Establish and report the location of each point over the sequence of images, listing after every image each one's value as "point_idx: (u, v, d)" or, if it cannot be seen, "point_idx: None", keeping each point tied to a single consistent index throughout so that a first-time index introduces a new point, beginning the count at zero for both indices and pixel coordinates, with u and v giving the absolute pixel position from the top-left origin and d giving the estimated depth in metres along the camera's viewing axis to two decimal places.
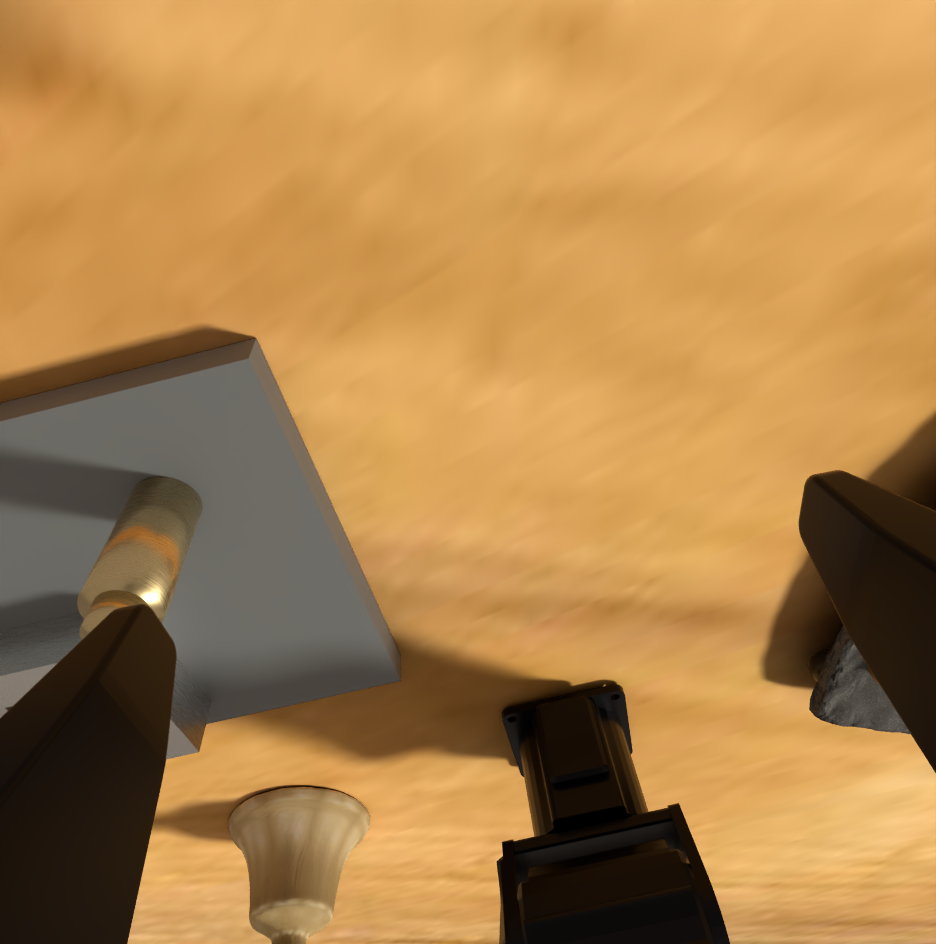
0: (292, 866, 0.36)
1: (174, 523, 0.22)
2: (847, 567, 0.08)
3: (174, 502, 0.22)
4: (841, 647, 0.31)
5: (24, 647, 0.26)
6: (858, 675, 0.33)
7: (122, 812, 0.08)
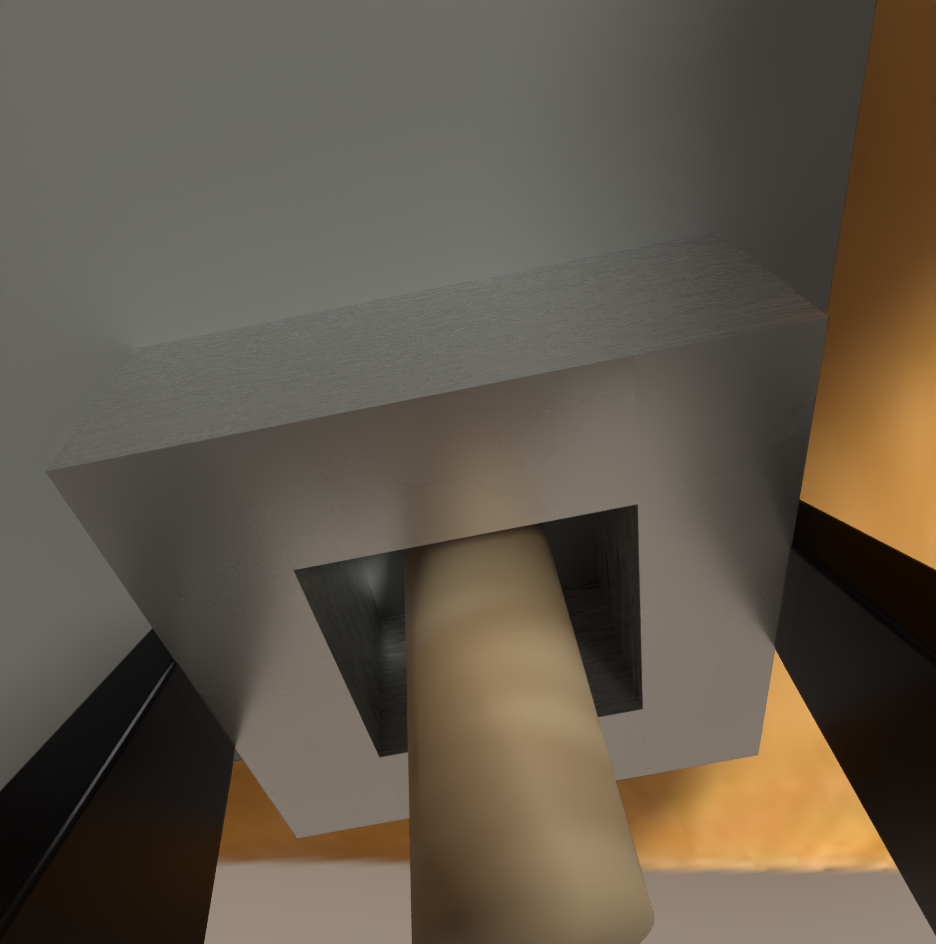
0: None
1: None
2: None
3: None
4: None
5: None
6: None
7: (199, 798, 0.08)
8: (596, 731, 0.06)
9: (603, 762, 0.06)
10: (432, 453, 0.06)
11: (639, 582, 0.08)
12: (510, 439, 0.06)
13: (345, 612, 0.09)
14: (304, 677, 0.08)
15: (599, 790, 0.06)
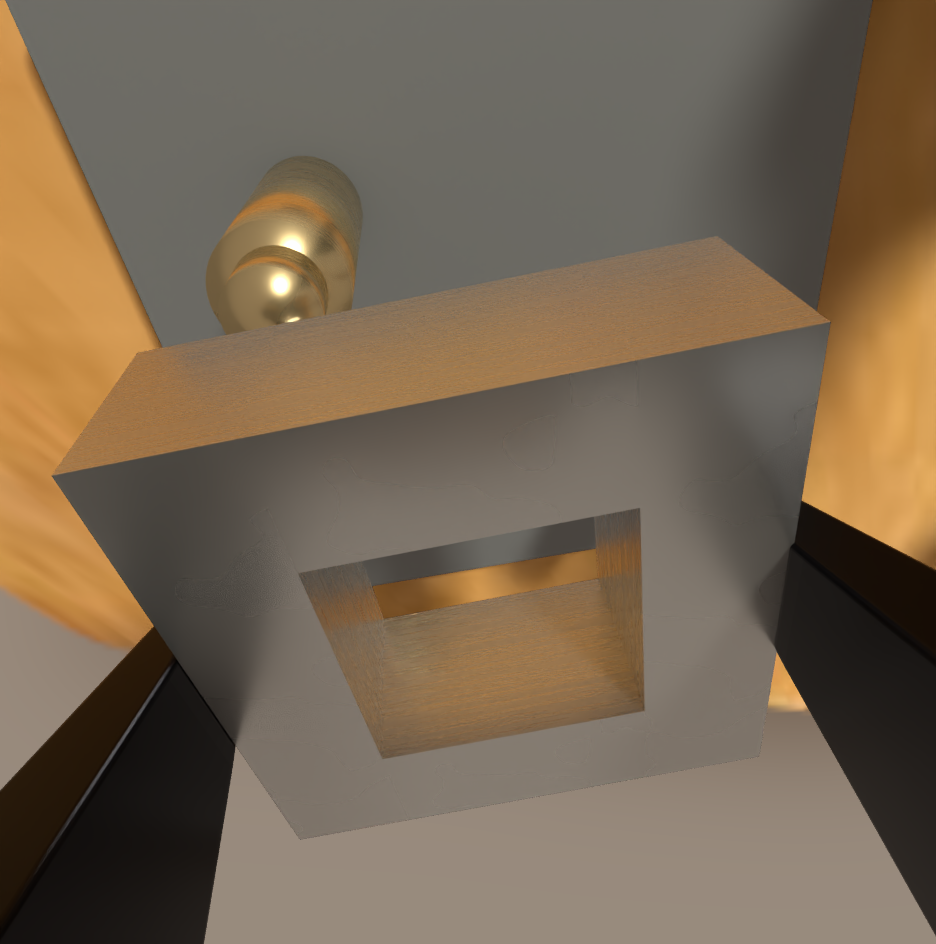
0: None
1: (258, 188, 0.13)
2: None
3: (258, 186, 0.14)
4: None
5: None
6: None
7: (200, 798, 0.08)
8: None
9: None
10: (436, 457, 0.06)
11: (641, 585, 0.08)
12: (514, 443, 0.06)
13: (348, 614, 0.09)
14: (308, 679, 0.08)
15: None
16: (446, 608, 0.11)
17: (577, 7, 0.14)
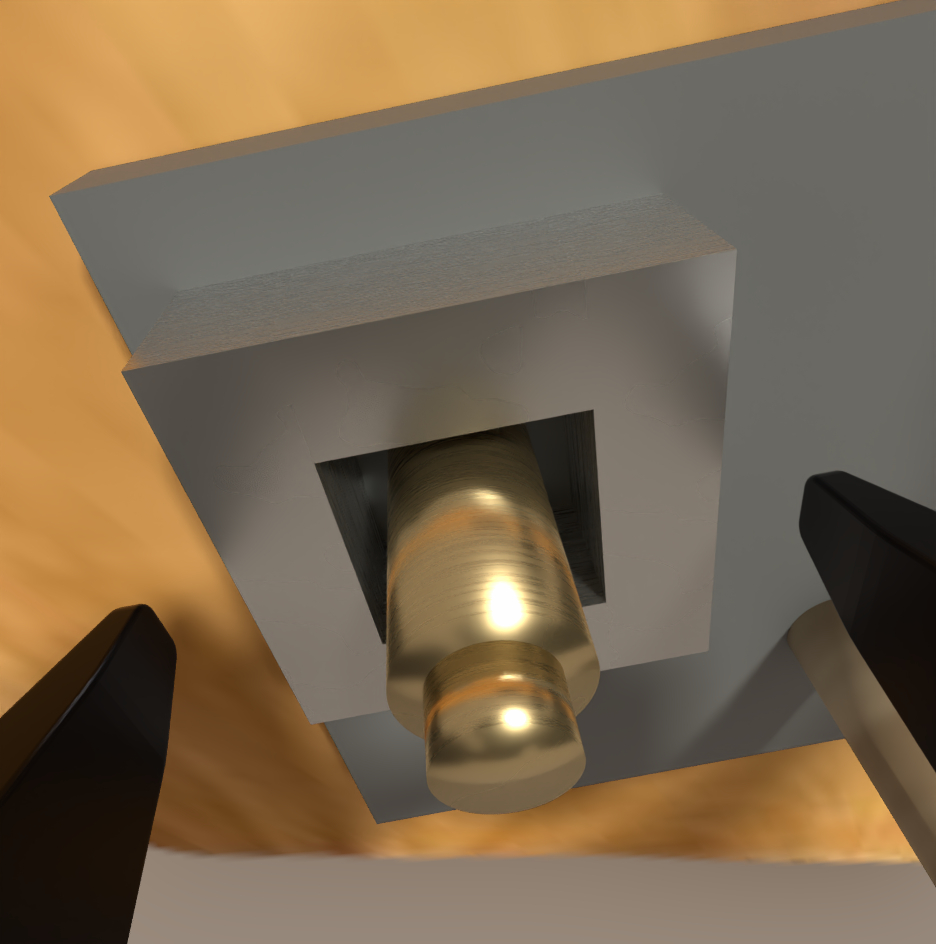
0: None
1: (420, 466, 0.09)
2: (847, 567, 0.08)
3: None
4: None
5: None
6: None
7: (122, 812, 0.08)
8: None
9: None
10: (426, 361, 0.08)
11: (598, 481, 0.09)
12: (488, 350, 0.08)
13: (354, 518, 0.10)
14: (320, 564, 0.09)
15: None
16: None
17: (852, 187, 0.10)
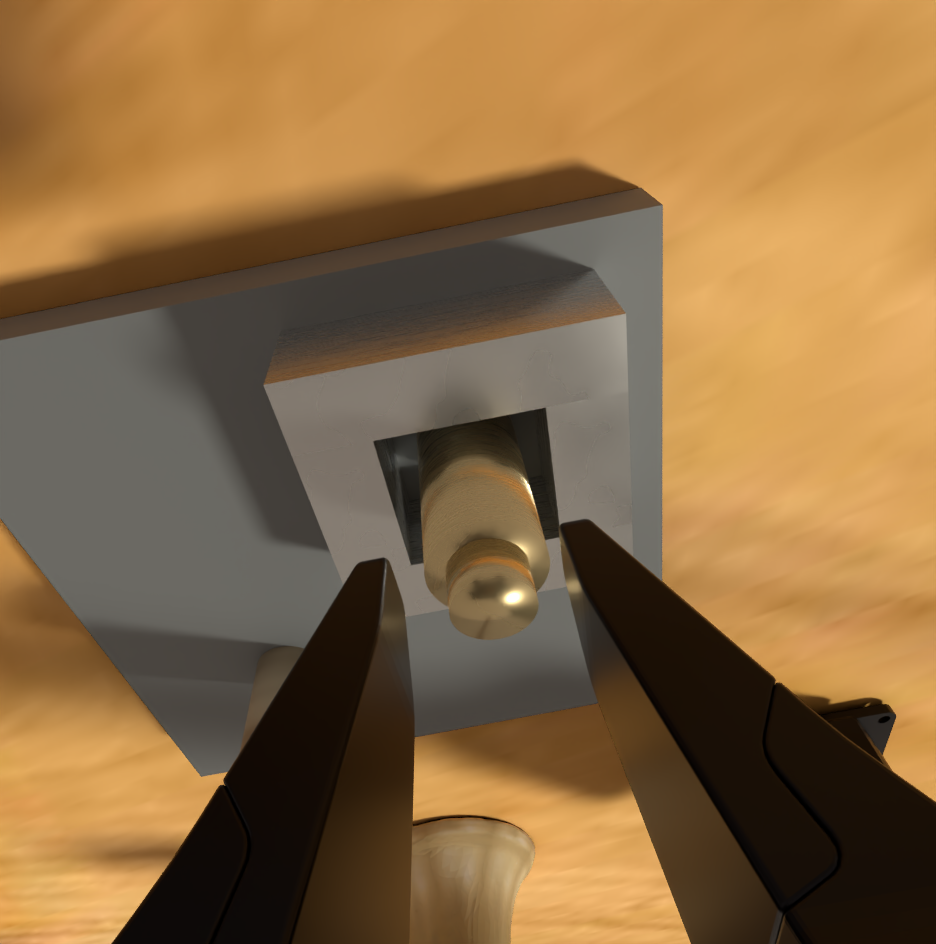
0: (466, 919, 0.29)
1: (516, 451, 0.15)
2: (580, 617, 0.08)
3: (503, 423, 0.15)
4: None
5: (418, 327, 0.14)
6: None
7: (400, 761, 0.08)
8: None
9: None
10: (602, 463, 0.15)
11: None
12: (603, 489, 0.15)
13: None
14: (461, 405, 0.13)
15: None
16: None
17: None
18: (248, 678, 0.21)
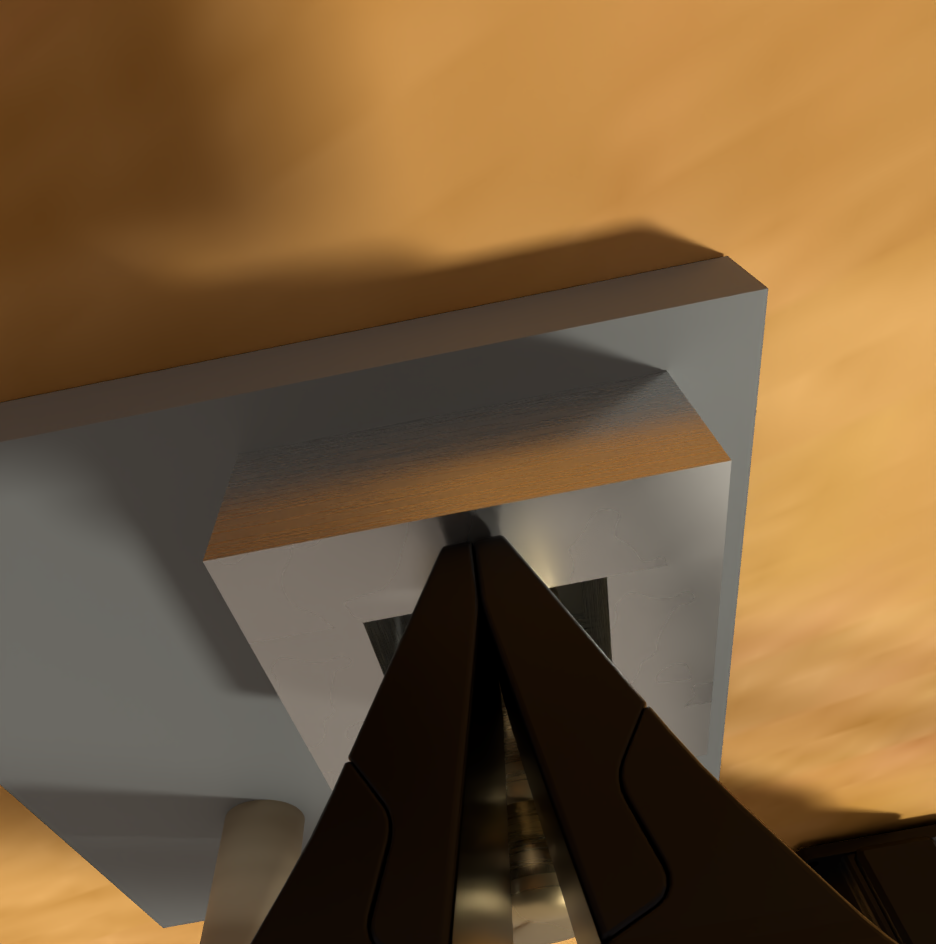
0: None
1: None
2: (489, 635, 0.08)
3: None
4: None
5: (427, 463, 0.10)
6: None
7: (498, 743, 0.08)
8: None
9: None
10: (679, 638, 0.11)
11: None
12: (677, 667, 0.11)
13: None
14: None
15: None
16: None
17: None
18: (214, 833, 0.18)
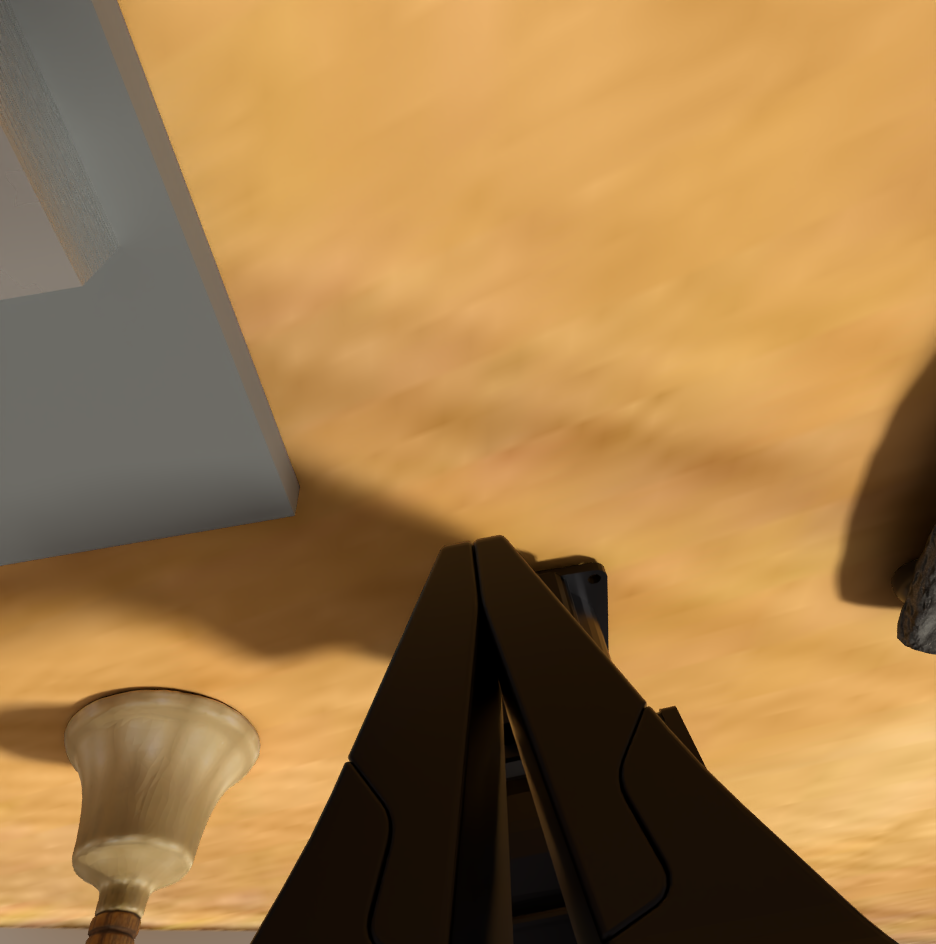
0: (139, 792, 0.26)
1: None
2: (489, 635, 0.08)
3: None
4: (935, 551, 0.24)
5: None
6: None
7: (497, 744, 0.08)
8: None
9: None
10: None
11: None
12: None
13: None
14: None
15: None
16: None
17: (151, 353, 0.18)
18: None
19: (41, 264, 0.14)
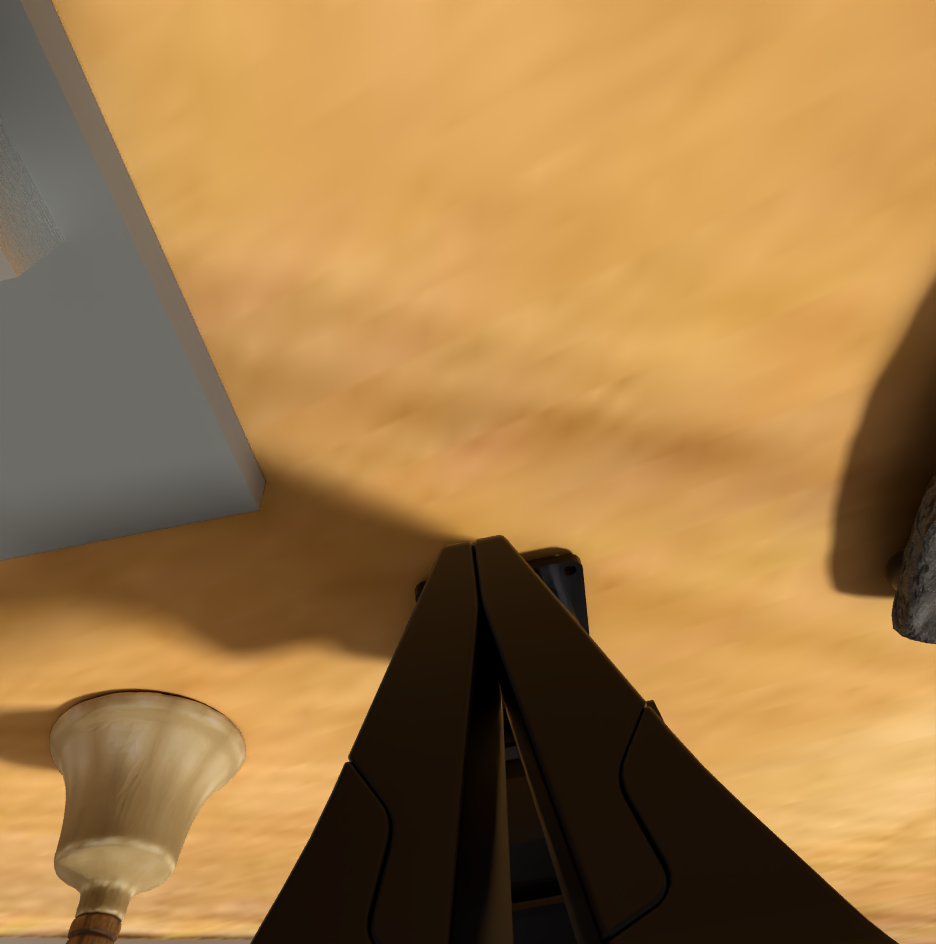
0: (120, 794, 0.26)
1: None
2: (489, 635, 0.08)
3: None
4: (920, 538, 0.24)
5: None
6: None
7: (497, 743, 0.08)
8: None
9: None
10: None
11: None
12: None
13: None
14: None
15: None
16: None
17: (103, 348, 0.18)
18: None
19: None
